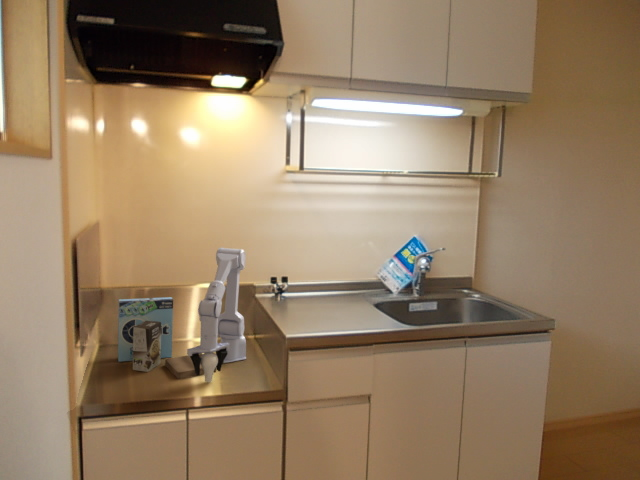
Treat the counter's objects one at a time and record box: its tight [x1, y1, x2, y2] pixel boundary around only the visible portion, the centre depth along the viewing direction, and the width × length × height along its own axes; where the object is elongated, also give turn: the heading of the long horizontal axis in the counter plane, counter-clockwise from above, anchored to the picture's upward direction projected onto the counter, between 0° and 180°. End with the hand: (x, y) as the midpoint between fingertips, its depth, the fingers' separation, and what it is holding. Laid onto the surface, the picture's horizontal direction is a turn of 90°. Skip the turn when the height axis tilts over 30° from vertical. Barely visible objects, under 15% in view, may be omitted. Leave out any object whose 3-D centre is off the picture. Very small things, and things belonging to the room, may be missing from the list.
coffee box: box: [132, 321, 162, 373], centre depth 184 cm, size 9×6×16 cm
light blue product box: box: [117, 296, 174, 363], centre depth 192 cm, size 20×5×23 cm, turn 113°
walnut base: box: [164, 353, 217, 380], centre depth 185 cm, size 14×14×2 cm
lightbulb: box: [200, 352, 218, 384], centre depth 174 cm, size 6×6×11 cm
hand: (208, 372), depth 174 cm, fingers open, 7 cm apart
